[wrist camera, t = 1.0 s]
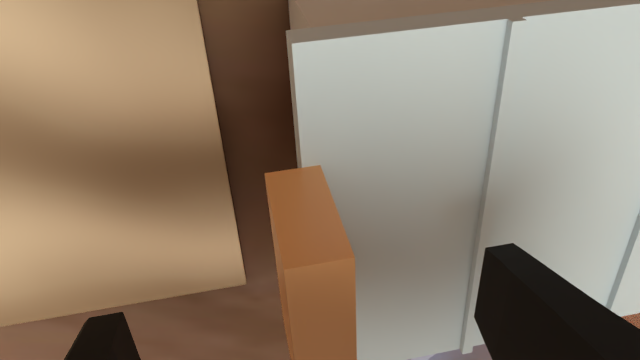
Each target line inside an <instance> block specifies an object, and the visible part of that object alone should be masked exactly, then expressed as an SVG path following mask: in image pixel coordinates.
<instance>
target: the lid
mask: <svg viewBox="0 0 640 360" xmlns="http://www.w3.org/2000/svg"><path fill="white" fill-rule="evenodd" d="M286 40H287V51H288V63H289V74H290V85H291V97H292V108H293V120H294V131H295V143H296V154H297V166H298V168H296V169H290V170H283V171H276V172H269V173H264V174H265V182H266V190H267V197H268V205H269V213H270V221H271V228H272V236H273V244H274V251H275V259H276V267H277V275H278V282H279V290H280V298H281V305H282V313H283V320H284V325H285V331H286V337H287V342H288V348H289V353H290V359H291V360H407V359H412V358H417V357H422V356H427V355H432V354H437V353H442V352H447V351H452V350H457V349H460V351H461V353H462V354H467V353H472V349H473V346H477V345H482V344H485V342H484V340H483V338H482V335H481V333H480V330H479V328H478V325H477V323H476V321H475V318H474V313H475V307H476V301H477V295H478V288H479V282H480V276H481V270H482V264H483V258H484V252H485V248H487V247H493V246H498V245H504V244H510V243H514V244H515V245H517V246H518V247H520V248H521V249H523V250H524V251H526V252H527V253H529V254H530V255H531V256H533V257H534V258H536V259H537V260H539V261H540V262H541V263H543V264H544V265H546V266H547V267H548V268H550V269H551V270H553V271H554V272H555V273H557V274H558V275H560V276H561V277H563V278H564V279H565V280H567V281H568V282H570V283H571V284H573V285H574V286H575V287H577V288H578V289H580V290H581V291H583V292H584V293H586V294H587V295H588V296H590V297H591V298H593V299H594V300H596V301H597V302H599V303H600V304H602V305H603V306H605V307H606V308H608V309H609V310H611V311H612V312H614V313H615V314H617V315H618V316H620V317H621V316H626V315H631V314H636V313H640V0H554V1H545V2H536V3H527V4H518V5H509V6H500V7H491V8H482V9H473V10H464V11H455V12H446V13H437V14H428V15H419V16H410V17H401V18H392V19H383V20H374V21H365V22H356V23H347V24H339V25H330V26H321V27H312V28H303V29H294V30H286Z"/></svg>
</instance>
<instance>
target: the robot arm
mask: <svg viewBox="0 0 640 360" xmlns="http://www.w3.org/2000/svg"><path fill="white" fill-rule="evenodd" d="M474 318H475V321H476V323H477V325H478V328H479V330H480V333H481V335H482V338H483V340H484V342H485V344H482V345H477V346H473V349H472V353H467V354H462V353H461V351H460V349H457V350H452V351H447V352H442V353H437V354H432V355H427V356H422V357H417V358H412V359H407V360H640V329H638V328H637V327H635V326H634V325H632V324H631V323H629V322H628V321H626V320H624V319H623V318H621V317H620V316H618V315H617V314H615V313H614V312H612V311H611V310H609V309H608V308H606V307H605V306H603V305H602V304H600V303H599V302H597V301H596V300H594V299H593V298H591V297H590V296H588V295H587V294H586V293H584V292H583V291H581V290H580V289H578V288H577V287H575V286H574V285H573V284H571V283H570V282H568V281H567V280H565V279H564V278H563V277H561V276H560V275H558V274H557V273H555V272H554V271H553V270H551V269H550V268H548V267H547V266H546V265H544V264H543V263H541V262H540V261H539V260H537V259H536V258H534V257H533V256H531V255H530V254H529V253H527V252H526V251H524V250H523V249H521V248H520V247H518V246H517V245H515V244H514V243H510V244H504V245H498V246H493V247H487V248H485V252H484V258H483V264H482V270H481V276H480V282H479V288H478V295H477V301H476V307H475V313H474ZM64 360H141V359H140V357H139V354H138V351H137V349H136V346H135V343H134V340H133V338H132V335H131V332H130V330H129V327H128V324H127V322H126V319H125V316H124V314H123V312H119V313H114V314H108V315H102V316H97V317H91V318H89V319H88V320H87V321H86V322H85V323H84V325H83V327H82V329H81V331H80V332H79V334H78V336H77V338H76V339H75V341H74V343H73V345H72V347H71V348H70V350H69V352H68V354H67V355H66V357H65V359H64Z"/></svg>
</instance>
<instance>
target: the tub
mask: <svg viewBox="0 0 640 360" xmlns="http://www.w3.org/2000/svg"><path fill="white" fill-rule="evenodd" d="M545 1H554V0H288V6H289V18H290V30H294V29H303V28H312V27H321V26H330V25H339V24H347V23H356V22H365V21H374V20H383V19H392V18H401V17H410V16H419V15H428V14H437V13H446V12H455V11H464V10H473V9H482V8H491V7H500V6H509V5H518V4H527V3H536V2H545Z"/></svg>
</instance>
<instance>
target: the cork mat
mask: <svg viewBox="0 0 640 360" xmlns="http://www.w3.org/2000/svg"><path fill="white" fill-rule="evenodd" d="M244 284H246V276H245V270H244V264H243V258H242V253H241V247H240V241H239V236H238V230H237V224H236V219H235V213H234V207H233V201H232V196H231V190H230V184H229V179H228V173H227V167H226V162H225V156H224V150H223V144H222V139H221V133H220V127H219V122H218V116H217V110H216V105H215V99H214V93H213V87H212V82H211V76H210V70H209V65H208V59H207V53H206V48H205V42H204V36H203V30H202V25H201V19H200V13H199V8H198V2H197V0H0V327H2V326H8V325H14V324H20V323H25V322H31V321H37V320H43V319H48V318H54V317H60V316H66V315H71V314H77V313H83V312H89V311H95V310H100V309H106V308H112V307H118V306H123V305H129V304H135V303H141V302H146V301H152V300H158V299H164V298H169V297H175V296H181V295H187V294H192V293H198V292H204V291H210V290H215V289H221V288H227V287H233V286H238V285H244Z"/></svg>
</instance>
